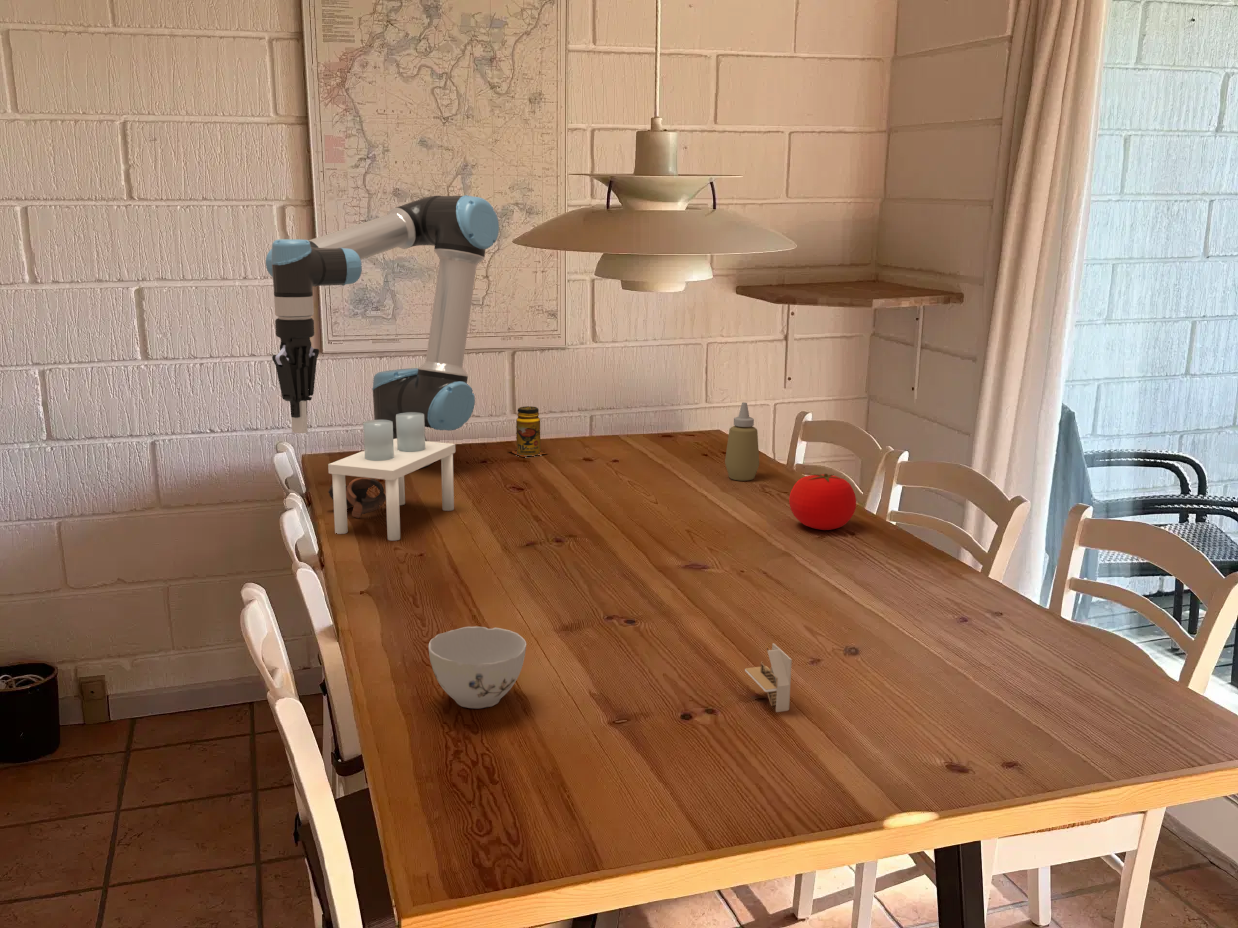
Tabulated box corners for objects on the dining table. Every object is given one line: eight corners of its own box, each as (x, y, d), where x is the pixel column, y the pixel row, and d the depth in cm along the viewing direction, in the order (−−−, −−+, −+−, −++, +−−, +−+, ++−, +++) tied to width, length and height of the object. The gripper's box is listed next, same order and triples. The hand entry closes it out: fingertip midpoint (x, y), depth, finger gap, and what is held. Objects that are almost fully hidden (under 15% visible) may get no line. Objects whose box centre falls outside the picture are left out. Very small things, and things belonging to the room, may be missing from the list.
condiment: (523, 458, 278) (523, 411, 275) (506, 452, 285) (506, 406, 282) (548, 454, 282) (548, 408, 279) (531, 448, 289) (530, 403, 286)
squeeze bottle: (735, 472, 266) (737, 398, 262) (765, 477, 262) (768, 402, 258) (717, 479, 260) (720, 403, 256) (748, 484, 255) (751, 407, 251)
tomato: (865, 532, 220) (869, 478, 217) (807, 538, 215) (810, 483, 213) (834, 516, 231) (837, 464, 228) (778, 522, 226) (780, 469, 224)
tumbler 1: (374, 453, 221) (373, 418, 219) (399, 455, 219) (398, 420, 217) (359, 459, 216) (357, 423, 214) (384, 461, 214) (383, 426, 212)
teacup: (535, 715, 141) (535, 656, 139) (436, 726, 137) (434, 666, 135) (513, 667, 155) (512, 613, 153) (422, 677, 151) (421, 622, 150)
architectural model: (765, 716, 142) (767, 662, 140) (744, 694, 149) (746, 642, 147) (789, 713, 143) (792, 660, 141) (767, 691, 150) (770, 639, 148)
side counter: (397, 501, 238) (395, 438, 234) (456, 508, 233) (455, 443, 230) (331, 533, 215) (328, 464, 211) (395, 541, 210) (392, 470, 207)
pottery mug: (387, 506, 235) (392, 478, 230) (376, 537, 228) (381, 509, 223) (331, 492, 234) (335, 464, 229) (318, 523, 227) (322, 494, 222)
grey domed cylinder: (406, 445, 228) (404, 411, 227) (430, 447, 227) (429, 413, 225) (392, 450, 223) (390, 416, 222) (416, 452, 221) (415, 418, 220)
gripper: (297, 313, 231) (303, 425, 236) (258, 319, 219) (264, 436, 224) (328, 315, 228) (333, 428, 234) (290, 321, 216) (296, 439, 222)
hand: (299, 432), depth 229 cm, fingers closed
